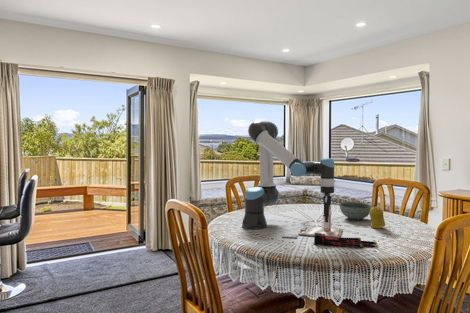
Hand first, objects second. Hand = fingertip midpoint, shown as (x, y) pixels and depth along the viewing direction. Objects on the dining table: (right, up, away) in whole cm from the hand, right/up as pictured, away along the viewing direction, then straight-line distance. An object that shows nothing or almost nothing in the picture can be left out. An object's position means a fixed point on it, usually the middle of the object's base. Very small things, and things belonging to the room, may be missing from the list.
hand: (327, 226), depth 194 cm
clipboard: (-3, -3, 0) cm, 5 cm away
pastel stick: (0, -2, 0) cm, 2 cm away
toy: (+3, -5, -23) cm, 24 cm away
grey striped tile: (-23, -4, -7) cm, 24 cm away
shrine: (+32, -3, +9) cm, 34 cm away
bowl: (+28, -2, +33) cm, 43 cm away
